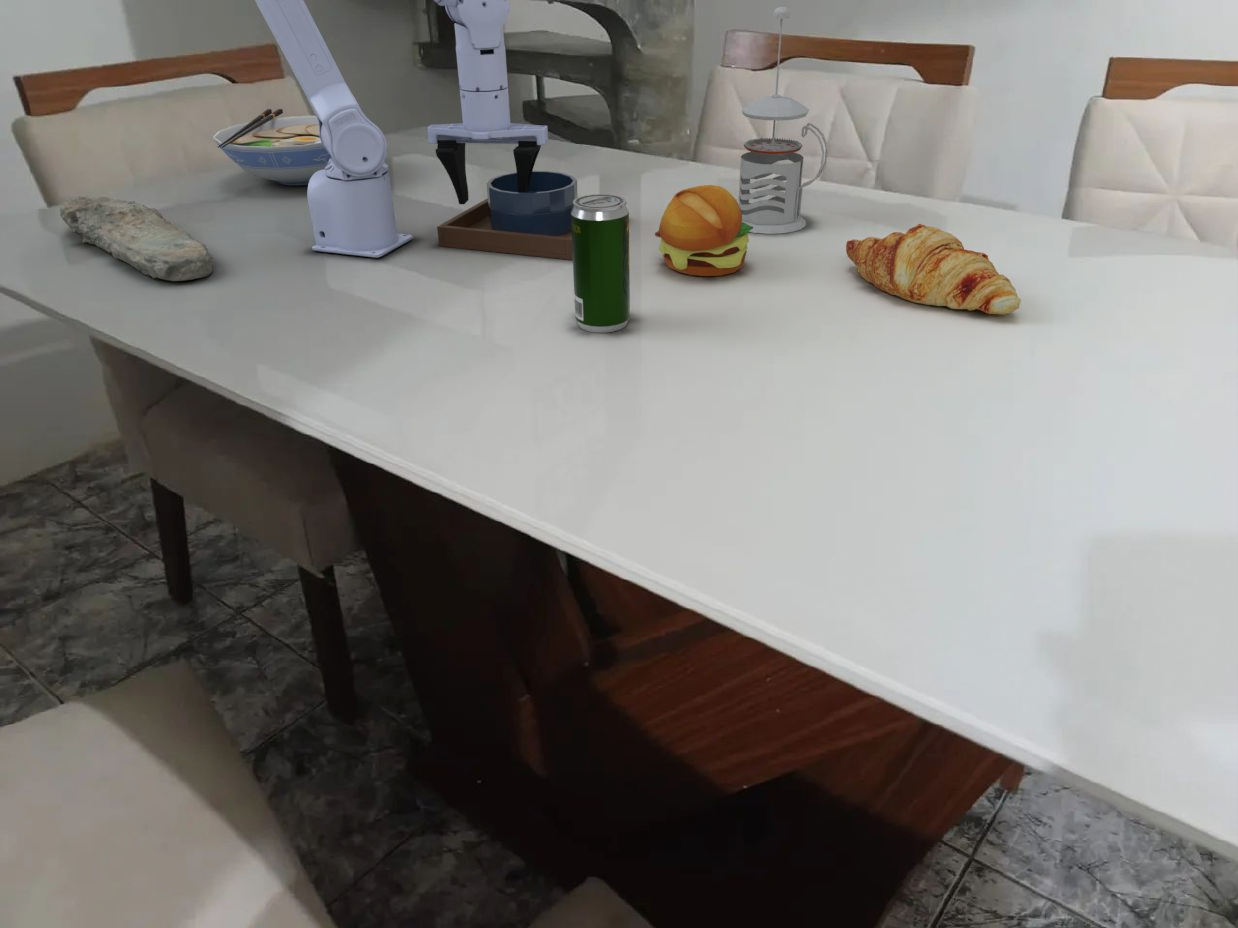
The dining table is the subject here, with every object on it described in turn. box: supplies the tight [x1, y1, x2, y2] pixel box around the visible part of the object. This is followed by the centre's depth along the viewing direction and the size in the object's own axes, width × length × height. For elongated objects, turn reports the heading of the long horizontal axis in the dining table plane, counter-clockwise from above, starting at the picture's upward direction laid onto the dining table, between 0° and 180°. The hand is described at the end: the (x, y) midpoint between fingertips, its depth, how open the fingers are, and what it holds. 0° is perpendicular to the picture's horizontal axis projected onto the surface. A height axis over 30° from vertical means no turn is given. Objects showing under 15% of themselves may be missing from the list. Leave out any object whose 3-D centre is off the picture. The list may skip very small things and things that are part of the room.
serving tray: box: [436, 197, 573, 261], centre depth 117 cm, size 18×17×2 cm
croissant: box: [845, 223, 1021, 315], centre depth 96 cm, size 21×10×8 cm, turn 39°
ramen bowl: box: [212, 108, 332, 186], centre depth 140 cm, size 25×23×8 cm
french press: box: [737, 6, 829, 235], centre depth 113 cm, size 10×12×25 cm
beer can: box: [571, 193, 631, 334], centre depth 89 cm, size 5×5×12 cm
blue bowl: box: [486, 170, 579, 236], centre depth 117 cm, size 11×11×6 cm
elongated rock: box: [59, 195, 214, 282], centre depth 113 cm, size 35×5×10 cm
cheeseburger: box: [654, 184, 753, 277], centre depth 103 cm, size 10×11×10 cm
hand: (493, 203), depth 118 cm, fingers open, 7 cm apart
